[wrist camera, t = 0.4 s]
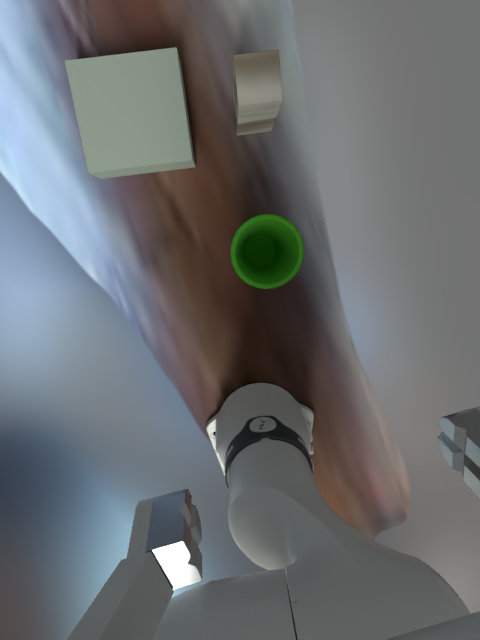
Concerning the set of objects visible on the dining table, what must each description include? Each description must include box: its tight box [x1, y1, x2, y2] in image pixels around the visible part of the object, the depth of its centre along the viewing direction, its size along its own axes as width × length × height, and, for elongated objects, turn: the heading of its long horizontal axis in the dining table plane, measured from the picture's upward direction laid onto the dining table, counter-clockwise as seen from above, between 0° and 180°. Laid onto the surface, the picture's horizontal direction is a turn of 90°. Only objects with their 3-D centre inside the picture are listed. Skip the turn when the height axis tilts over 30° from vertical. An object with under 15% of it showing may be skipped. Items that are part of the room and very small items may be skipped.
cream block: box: [233, 50, 283, 135], centre depth 41 cm, size 5×5×10 cm
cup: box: [231, 214, 304, 289], centre depth 44 cm, size 9×9×11 cm
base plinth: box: [65, 47, 196, 179], centre depth 43 cm, size 13×14×4 cm
